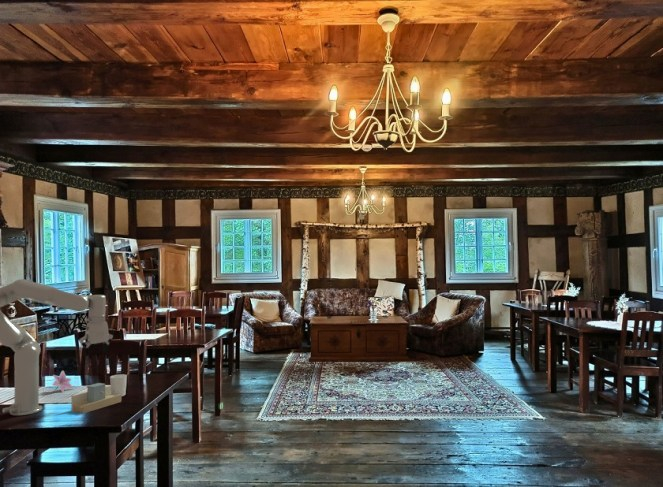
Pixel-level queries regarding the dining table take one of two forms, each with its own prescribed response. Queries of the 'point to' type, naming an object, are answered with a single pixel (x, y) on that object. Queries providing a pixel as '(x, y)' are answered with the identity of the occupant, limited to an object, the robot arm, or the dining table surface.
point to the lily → (62, 381)
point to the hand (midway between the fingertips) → (96, 354)
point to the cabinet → (95, 392)
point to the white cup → (118, 384)
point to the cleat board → (83, 406)
